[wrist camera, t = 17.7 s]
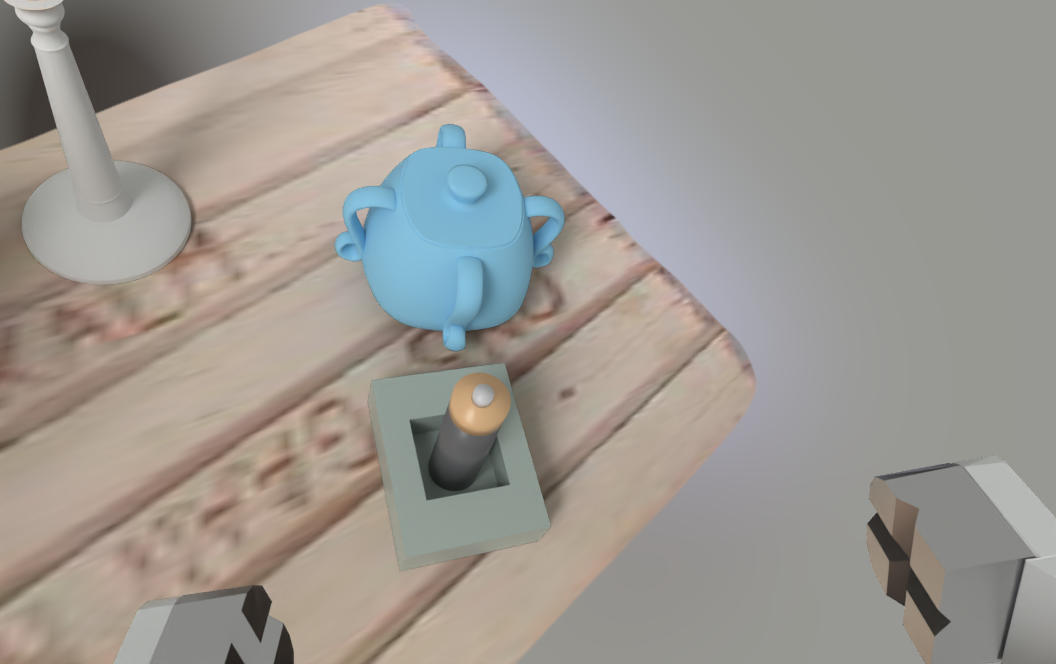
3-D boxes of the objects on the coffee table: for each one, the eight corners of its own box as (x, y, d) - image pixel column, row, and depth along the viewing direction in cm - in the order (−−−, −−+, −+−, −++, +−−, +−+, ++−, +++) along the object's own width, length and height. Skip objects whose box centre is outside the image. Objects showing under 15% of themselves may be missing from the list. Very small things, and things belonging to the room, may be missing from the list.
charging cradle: (399, 571, 57) (406, 557, 54) (367, 401, 63) (371, 380, 60) (537, 541, 61) (551, 526, 57) (494, 384, 67) (504, 362, 64)
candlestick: (174, 155, 71) (106, -192, 46) (206, 267, 66) (149, -54, 41) (13, 176, 66) (-162, -202, 41) (35, 299, 61) (-149, -46, 36)
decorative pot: (313, 258, 69) (316, 153, 58) (444, 181, 77) (469, 76, 66) (435, 385, 66) (463, 301, 54) (558, 291, 74) (605, 200, 63)
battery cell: (433, 494, 60) (460, 424, 49) (424, 447, 62) (448, 369, 51) (482, 487, 61) (519, 416, 50) (472, 441, 63) (506, 364, 52)
